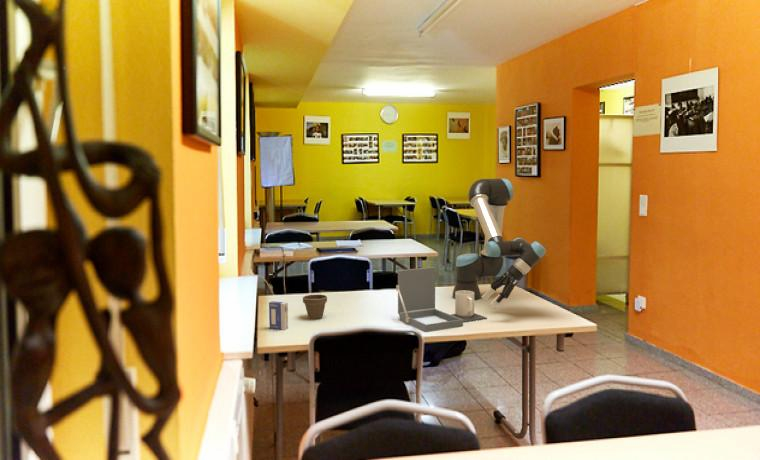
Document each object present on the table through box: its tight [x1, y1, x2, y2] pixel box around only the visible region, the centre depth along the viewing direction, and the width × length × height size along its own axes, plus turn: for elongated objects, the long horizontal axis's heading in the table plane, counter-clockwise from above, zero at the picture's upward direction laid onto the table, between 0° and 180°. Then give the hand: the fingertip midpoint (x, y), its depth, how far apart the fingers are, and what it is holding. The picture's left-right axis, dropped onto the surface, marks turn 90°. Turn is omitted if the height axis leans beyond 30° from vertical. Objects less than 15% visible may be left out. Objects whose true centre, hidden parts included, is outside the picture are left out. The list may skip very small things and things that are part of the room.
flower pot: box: [302, 294, 328, 320], centre depth 277 cm, size 12×11×10 cm
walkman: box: [268, 300, 289, 331], centre depth 259 cm, size 8×3×12 cm, turn 70°
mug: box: [454, 290, 475, 318], centre depth 276 cm, size 12×9×11 cm
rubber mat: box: [450, 312, 488, 324], centre depth 277 cm, size 13×15×1 cm
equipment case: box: [395, 266, 464, 333], centre depth 267 cm, size 24×21×23 cm
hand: (487, 302), depth 277 cm, fingers open, 13 cm apart
